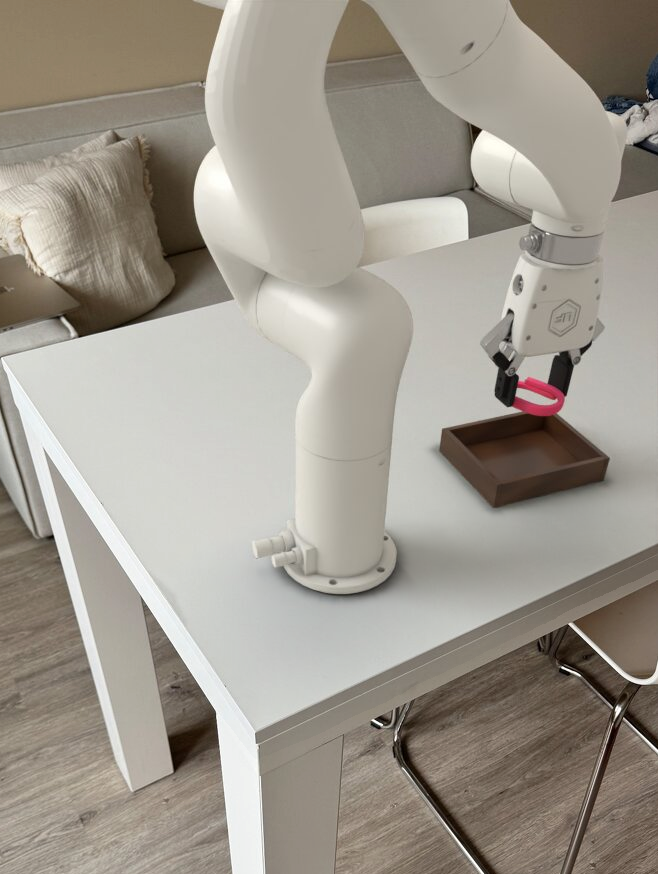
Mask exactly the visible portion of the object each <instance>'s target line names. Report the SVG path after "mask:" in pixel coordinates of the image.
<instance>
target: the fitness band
mask: <svg viewBox="0 0 658 874" xmlns="http://www.w3.org/2000/svg"><path fill="white" fill-rule="evenodd" d="M547 383H548V382H545V381H541V380H539V379H536V378H535V377H530V376H526V377H525V378H524V380H523V381H522V380H519V381H518V386H517V389H522V390H527V391H529V392H533V393H534V394H537V395H540V396H542V397H544V398H546V399H549V400H552V401H556V400H557V401H556V402H554V403H551V404H538V403H534V402H531V401H529V400H526V399H524V398H521V397H519V396H517V395H516V396H515V400H514V405H513V406H512V407H511V408H514V409H516V410H517V411H520V412H522V411H523V412H526V413H529V414H532V415H537V416H550V415H554V414H556V413H557V414H558V413H559V412H560V411H561V410H562V409H563V408H564V404H565V400H566V397H564V394H563V393H562V392H561V391H560V390H559V389H557V388H556V387H554V386H552V385H549V384H547Z"/></svg>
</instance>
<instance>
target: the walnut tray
mask: <svg viewBox="0 0 658 874" xmlns="http://www.w3.org/2000/svg"><path fill="white" fill-rule="evenodd" d="M439 441H440V442H439V449H438V451H439V452H440V454H441V455H442V456H444V458H445V459H446V460H447V461H448V462H449V463H450V464H451V465H452V466H453V467H454V468H455V470H457V472H458V473H460V474H461V476H462V477H463V478H464V479H465V480H466V481H467V482H468V483H469V484H470V485H471V486H472V487H473V488H474V489H475V490H476V491H477V492H478V494H479V495H480V496H481V497H482V498H483V499H484V500H485V502H487V503H488V504H489V505H490V506H491V507H492V508H493V509H495V508H499V507H504V506H507V505H512V504H516V503H520V502H523V501H527V500H531V499H536V498H540V497H543V496H549V495H551V494H552V495H553V494H555V493H560V492H563V491H567V490H572V489H576V488H580V487H583V486H588V485H592V484H596V483H600V482H603V481H605V478H606V474H607V471H608V467H609V463H610V461H611V460H610V459H611V458H610V456H608V455H607V454H606V453H605V452H604V451H603V450H601V449H600V448H599V447H598V446H596V444H594V443H593V442H592V441H591V440H590V439H588V438H587V437H586V436H584V435H583V434H582V433H581V432H580V431H578V430H577V429H576V428H575V427H574V426H572V425H571V424H570V423H569V422H568V421H567V420H565V419H564V418H563V417H562V415H559V414H558V413H556V414H554V415H550V416H537V415H532V414H529V413H526V412H523V411H518V412H513V413H509V414H505V415H500V416H495V417H490V418H485V419H480V420H476V421H472V422H467V423H461V424H458V425H454V426H448V427H444V428H442V429H441V434H440V440H439Z"/></svg>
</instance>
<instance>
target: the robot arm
mask: <svg viewBox="0 0 658 874" xmlns="http://www.w3.org/2000/svg"><path fill="white" fill-rule="evenodd" d="M192 1H193V2H196V3H198V4H201V5H203V6H207V7H211V8H214V9H219V10H223V13H222V16H221V20H220V24H219V28H218V30H217V34H216V37H215V41H214V45H213V48H212V52H211V56H210V60H209V64H208V68H207V74H206V79H205V86H204V87H205V88H204V107H205V115H206V119H207V124H208V127H209V130H210V133H211V137H212V139H213V142H214V146H213V147H212V148H211V149H210V150H209V151H208V152H207V154H206V155H205V156H204V157H203V160H202V161H201V163H200V165H199V168H198V170H197V173H196V176H195V181H194V186H193V208H194V213H195V214H194V215H195V219H196V224H197V226H198V230H199V232H200V235H201V237H202V240H203V242H204V244H205V246H206V248H207V249H208V252H209V253H210V255H211V257H212V259H213V261H214V263H215V265H216V267H217V268H218V271H219V273H220V275H221V276H222V278H223V280H224V282H225V284H226V286H227V288H228V290H229V292H230V293H231V296H232V297H233V299H234V302H235V303H236V305H237V306H238V309H239V310H240V311H241V313H242V315H243V317H244V318H245V320H247V322H248V324H249V325H250V326H251V327H252V328H253V329H254V331H256V333H258V334H259V335H260V336H262V337H263V338H265V339H266V340H267V341H269V342H270V343H272V344H274V345H276V346H277V347H279V348H281V349H282V350H284V351H286V352H288V353H289V354H291V355H293V357H295V358H296V359H298V360H299V361H301V362H302V363H304V364H305V365H306V366H307V367H308V368H309V370H310V372H311V379H310V381H309V384H308V385H307V387H306V389H305V390H304V391H303V393H302V394H301V396H300V398H299V401H298V402H297V406H296V411H295V422H294V423H295V426H294V427H295V429H294V431H295V433H294V435H295V518H291V519H287V520H286V530H282V531H279V533H278V535H275V536H273V537H264V538H260V539H256V540H252V541H251V549H252V553H253V556H254V558H255V559H256V560H258V559H261V558H265V557H270V556H271V563H272V566H273V568H276V569H277V568H280V567H283V568H284V570H285V572H286V573H287V574H288V576H290V577H291V578H292V579H294V581H296V582H297V583H299V584H300V585H301V586H304V587H306V588H309V589H311V590H314V591H317V592H321V593H324V594H334V595H350V594H357V593H361V592H365V591H369V590H371V589H373V588H375V587H378V586H379V585H381V584H383V582H385V581H386V580H387V579H388V578H390V576H391V575H392V573H393V572H394V570H395V567H396V563H397V553H398V551H397V548H396V544H395V542H394V540H393V538H392V537H391V535H389V534H388V532H386V531H385V529H386V526H385V525H386V517H387V503H388V492H389V483H390V481H389V480H390V471H391V470H390V469H391V458H392V457H391V456H392V446H393V445H392V444H393V432H394V421H395V414H396V404H397V398H398V391H399V387H400V382H401V379H402V376H403V372H404V368H405V365H406V363H407V360H408V359H407V358H408V355H409V353H410V349H411V346H412V342H413V335H414V319H413V314H412V311H411V308H410V306H409V304H408V302H407V301H406V299H405V297H404V296H403V295H402V294H401V293H400V292H399V291H398V290H397V288H395V287H394V286H393V285H392V284H390V283H389V282H388V281H386V280H384V279H383V278H382V277H379V276H378V275H376V274H374V273H372V272H370V271H368V270H366V269H364V268H362V267H360V266H358V265H359V263H360V261H361V259H362V256H363V254H364V253H363V252H364V249H365V244H366V243H365V241H366V237H365V236H366V235H365V234H366V233H365V231H366V230H365V223H364V222H365V221H364V219H363V218H364V217H363V213H362V209H361V205H360V202H359V198H358V196H357V193H356V189H355V187H354V184H353V181H352V178H351V175H350V172H349V169H348V166H347V163H346V160H345V157H344V154H343V152H342V148H341V146H340V143H339V139H338V137H337V134H336V131H335V127H334V124H333V122H332V118H331V114H330V111H329V106H328V103H327V97H326V92H325V74H326V69H327V62H328V59H329V54H330V50H331V46H332V44H333V41H334V38H335V36H336V32H337V30H338V27H339V25H340V22H341V20H342V18H343V15H344V13H345V11H346V9H347V6H348V4H349V2H350V0H192ZM361 2H364V3H366V4H367V5H369V7H371V8H372V9H373V10H374V11H375V13H376V14H377V15H378V17H379V19H380V20H381V22H382V23H383V25H384V26H385V28H386V29H387V30H388V32H389V34H390V35H391V37H392V38H393V39H394V41H395V43H396V44H397V46H398V48H400V50H401V51H402V53H403V55H404V57H406V59H407V60H408V62H409V64H410V66H411V67H412V69H413V70H414V72H415V74H416V75H417V76H418V78H419V80H420V81H421V82H422V84H423V86H424V87H425V89H426V90H427V92H428V93H429V94H430V96H431V97H432V98H433V99H435V100H436V101H437V102H438V103H440V104H441V105H443V107H444V108H446V109H447V110H449V111H450V112H452V113H453V114H455V115H456V116H458V117H459V118H461V119H462V120H464V121H465V122H467V123H469V124H471V125H473V126H475V127H477V128H478V129H480V130H481V131H480V132H479V134H478V136H477V138H476V139H475V141H474V143H473V146H472V149H471V154H470V170H471V173H472V176H473V178H474V181H475V182H476V184H477V185H478V186H479V187H480V188H481V189H482V190H483V191H484V192H485V193H487V194H488V195H491V196H492V197H494V198H497V199H499V200H502V201H504V202H507V203H510V204H513V205H515V206H519V207H522V208H526V209H529V210H531V211H532V214H531V220H530V226H529V230H528V234H527V235H526V236H521V237H520V239H519V242H518V244H519V248H520V250H521V251H525V252H523V253H521V254H520V255H519V258H518V260H517V263H516V266H515V268H514V271H513V273H512V277H511V279H510V283H509V286H508V289H507V293H506V296H505V297H506V298H505V300H504V304H503V309H502V313H501V318H500V321H499V322H498V323H497V324H496V325H495V326H494V327H493V328H492V329H491V330H490V331H489V332H488V333H486V334H485V336H484V337H482V339H481V340H480V343H479V345H480V346H481V347H482V349H483V351H484V352H485V353H486V354H487V356H488V358H489V359H490V360H491V361H492V362H493V364H494V365H495V366H496V367H497V368H498V369H497V374H496V380H495V385H494V391H493V392H494V398H496V399H497V400H498V401H499V403H501V404H503V405H504V406H505V407H506V408H513V407H512V406H513V405H514V400H515V396H517V391H518V388H517V386H518V381H520V376H519V375H518V374H517V372H518V370H519V368H520V366H521V364H522V363H523V362H524V361H525V358H530V357H537V356H545V355H550V354H555V355H554V356H553V358H552V362H551V367H550V371H549V374H548V375H549V376H548V380H547V382H546V383H547V384H549V385H552V386H554V387H556V388H557V389H559V390H560V391H561V392H562V393H563V394H564V397H565V398H566V397H567V396H568V392H569V388H570V384H571V380H572V377H573V372H574V368H575V366H577V365H579V364H580V363H581V361H582V356H583V355H584V354H585V353H586V352H587V351H588V350H589V349H590V348H591V347H592V345H593V342H595V340H597V338H598V337H599V336H601V334H602V333H603V332H604V330H605V325H604V323H603V322H602V321H601V320H600V319H599V317H598V315H599V309H600V303H601V298H602V290H603V280H604V258H603V257H602V255H600V254H599V253H600V249H601V245H602V241H603V237H604V233H605V229H606V225H607V221H608V217H609V213H610V209H611V206H612V205H611V204H612V201H613V199H614V198H615V195H616V193H617V190H618V188H619V184H620V180H621V174H622V159H623V156H624V152H625V148H626V145H627V139H628V125H627V122H626V121H625V120H624V118H623V117H621V116H620V115H619V114H616V113H615V112H611V111H608V110H606V109H605V107H604V105H603V104H602V102H601V100H600V98H599V97H598V96H597V94H596V93H595V91H594V90H593V89H592V87H591V86H590V85H589V84H588V83H587V82H586V81H585V80H584V78H582V77H581V75H579V74H578V73H577V71H575V70H574V69H573V68H572V67H571V66H570V65H569V64H568V63H567V62H566V61H565V60H564V59H562V57H560V56H559V54H558V53H556V52H555V51H554V50H553V48H552V47H550V45H548V43H546V42H545V41H544V39H542V38H541V37H540V36H539V35H538V34H536V32H534V31H533V30H532V29H531V28H530V27H528V25H526V24H525V23H523V21H522V20H521V19H520V18H519V16H518V15H517V13H516V11H515V9H514V8H513V6H512V3H511V1H510V0H361ZM502 342H504V344H503V346H502V348H501V349H500V344H501V343H502ZM513 352H514V353H513ZM556 353H557V354H556ZM512 354H513V355H512ZM511 356H512V357H511ZM510 357H511V359H510ZM509 359H510V360H509Z"/></svg>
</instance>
